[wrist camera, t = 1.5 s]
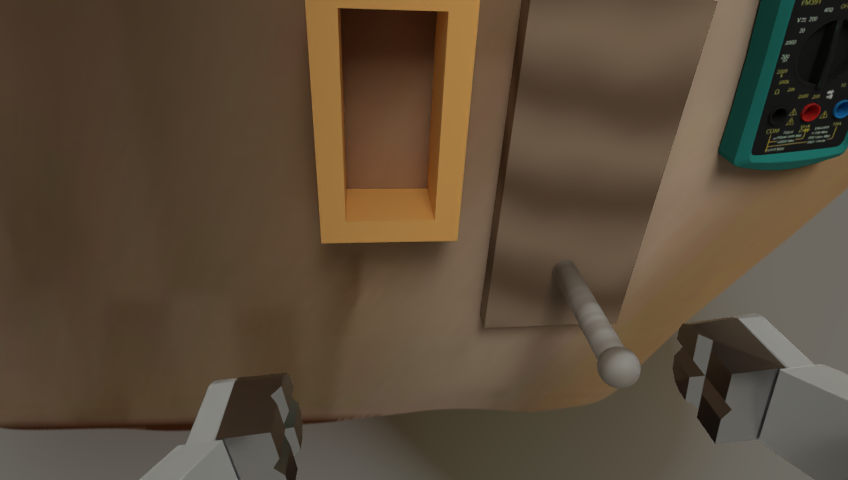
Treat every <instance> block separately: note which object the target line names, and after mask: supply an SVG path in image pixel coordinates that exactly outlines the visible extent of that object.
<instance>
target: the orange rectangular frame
mask: <svg viewBox="0 0 848 480" xmlns="http://www.w3.org/2000/svg"><path fill="white" fill-rule="evenodd" d="M479 6H480V0H305V8H306V23H307V38H308V52H309V67H310V82H311V96H312V111H313V126H314V141H315V155H316V170H317V185H318V199H319V214H320V229H321V243H367V242H422V241H457V239H458V228H459V218H460V207H461V197H462V186H463V176H464V165H465V154H466V144H467V133H468V123H469V112H470V101H471V91H472V80H473V70H474V59H475V49H476V38H477V27H478V17H479ZM340 8H353V9H385V10H416V11H437V17H436V35H435V53H434V71H433V90H432V108H431V126H430V144H429V162H428V181H427V188H407V189H347V180H346V151H345V123H344V95H343V67H342V38H341V10H340Z"/></svg>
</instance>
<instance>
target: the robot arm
mask: <svg viewBox="0 0 848 480" xmlns="http://www.w3.org/2000/svg"><path fill="white" fill-rule="evenodd" d="M677 340H678V341H679V342H680V344H681V345H682V346H683V347H682V348H681V349H680V350H679V351H678V352H677V353H676V354H675V356H674V362H673V373H674V379H675V383H676V385H677V387H678V390H679V392H680V393H681V395H682V396H683V398H684V399H685V401H687V402H689V403H690V404H692V405H694V406H696V407H698V408H699V409H698V415H697V418H698V420H699V421H700V423H701V424H702V426H703V427H704V428H705V430H706V431H707V433H708V434H709V436H710V437H711V439H712V440H713V441H714V443H715V444H718V443H728V442H738V441H747V440H758V439H759V441H758V442H760V443H761V444H763V445H764V446H766V447H767V448H769V449H770V450H772V451H773V452H774V453H776V454H777V455H779V456H780V457H782V458H784V459H785V460H786V461H788V462H789V463H791V464H792V465H794V466H795V467H797V468H798V469H800V470H801V471H803V472H804V473H806V474H807V475H809V476H810V477H812V478H813V479H815V480H848V374H845V373H843V372H840V371H838V370H836V369H833V368H831V367H828V366H826V365H823V364H819V365H814V364H813V363H812V362H811V361H810V360H809V359H808V358H807V357H806V356H805V355H803V354H802V353H801V352H800V351H799V350H798V349H797V348H796V347H795V346H794V345H793V344H792V343H791V342H790V341H789V340H787V339H786V338H785V337H784V336H783V335H782V334H781V333H780V332H779V331H778V330H777V329H776V328H775V327H774V326H772V325H771V324H770V323H769V322H768V321H767V320H766V319H765V318H764V317H763V316H761V315H759V314H756V313H753V314H746V315H740V316H732V317H730V318H721V319H713V320H706V321H698V322H691V323H683V324H682V325H681V327H680V328H679V331H678V337H677ZM292 393H293V384H292V381H291V378H290V375H289V374H287V373H279V374H269V375H259V376H249V377H239V378H234V379H224V380H214V381H213V382H212V383H211V384H210V385H209V387H208V389H207V392H206V394H205V397H204V399H203V402H202V404H201V407H200V409H199V412H198V414H197V417H196V419H195V422H194V424H193V427H192V429H191V432H190V434H189V437H188V439H187V442H186V444H185V445H178V446H177V447H176V448H174V449H173V450H172V451H171V452H170V453H169V454H168V455H167V456H165V457H164V458H163V459H162V460H161V461H160V462H159V463H158V464H156V465H155V466H154V467H153V468H152V469H151V470H149V471H148V472H147V473H146V474H145V475H144V476H143V477H142V478H140V479H139V480H296V475H297V465H296V462H295V459H294V456H295V455H296V454H297V453H298V452H299V451H300V450H301V442H302V418H301V411H300V408H299V404H298V402H296V401H295V400H293V399H292Z"/></svg>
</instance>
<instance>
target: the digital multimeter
mask: <svg viewBox="0 0 848 480" xmlns="http://www.w3.org/2000/svg"><path fill="white" fill-rule="evenodd" d="M794 2H795V4H794ZM793 6H794V7H793ZM792 9H793V11H792ZM791 12H792V14H791ZM790 16H791V17H790ZM789 19H790V21H789ZM788 23H789V24H788ZM787 26H788V28H787ZM786 29H787V31H786ZM785 33H786V34H785ZM784 36H785V38H784ZM783 39H784V41H783ZM782 43H783V44H782ZM781 46H782V48H781ZM780 50H781V51H780ZM779 53H780V55H779ZM778 56H779V58H778ZM777 60H778V61H777ZM776 63H777V65H776ZM775 67H776V68H775ZM774 70H775V72H774ZM773 73H774V75H773ZM772 77H773V78H772ZM797 79H798V80H797ZM771 80H772V82H771ZM770 84H771V85H770ZM805 86H806V87H805ZM769 87H770V89H769ZM768 91H769V92H768ZM767 94H768V95H767ZM766 98H767V99H766ZM760 118H761V119H760ZM759 122H760V123H759ZM758 125H759V126H758ZM847 147H848V0H761V2H760V6H759V10H758V13H757V17H756V21H755V25H754V29H753V33H752V37H751V42H750V46H749V50H748V54H747V57H746V61H745V64H744V68H743V71H742V74H741V78H740V81H739V85H738V88H737V92H736V95H735V99H734V103H733V106H732V110H731V113H730V116H729V119H728V123H727V126H726V129H725V132H724V135H723V138H722V141H721V144H720V148H719V154H720V155H721V156H722V157H724V158H725V159H726V160H728V161H729V162H731V163H732V164H733V165H735V166H736V167H742V168H750V169H757V170H784V169H793V168H798V167H802V166H807V165H811V164H815V163H818V162H821V161H824V160H827V159H831V158H834V157H837V156H840V155H841V154H843V153H844V152H845V150H846V149H847ZM785 152H787V153H785ZM775 153H778V154H775ZM766 154H768V155H766Z"/></svg>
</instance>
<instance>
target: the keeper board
mask: <svg viewBox="0 0 848 480" xmlns="http://www.w3.org/2000/svg"><path fill="white" fill-rule="evenodd" d="M716 5H717V1H713V0H522V4H521V12H520V19H519V27H518V34H517V42H516V49H515V57H514V64H513V72H512V79H511V87H510V94H509V102H508V109H507V117H506V124H505V132H504V139H503V147H502V154H501V162H500V169H499V177H498V184H497V192H496V199H495V207H494V214H493V222H492V229H491V237H490V244H489V252H488V259H487V267H486V274H485V282H484V289H483V297H482V304H481V312H480V316H481V319H482V322H483V326H484V328H497V327H524V326H551V325H577V324H579V325H580V327H581V329H582V331H583V333H584V335H585V337H586V338H587V340H588V342H589V344H590V346H591V348H592V350H593V352H594V354H595V356H596V357H597V359H598V362H597V369H598V373H599V375H600V377H601V378H602V380H603V381H604V382H605V383H607V384H608V385H610V386H612V387H615V388H626V387H629V386H631V385H633V384H634V383H635V382H636V381H637V380H638V378H639V376H640V371H641V367H640V362H639V360H638V358H637V356H636V355H635V354H634V353H633V352H632V351H630V350H629V349H627V348H625V347H624V346H623V344H622V342H621V341H620V339H619V337H618V336H617V334H616V332H615V331H614V329H613V327H612V326H611V324H610V323H616V322H617V319H618V316H619V313H620V309H621V306H622V303H623V300H624V297H625V294H626V290H627V287H628V284H629V281H630V278H631V275H632V271H633V268H634V265H635V262H636V259H637V256H638V252H639V249H640V246H641V243H642V240H643V236H644V233H645V230H646V227H647V224H648V221H649V217H650V214H651V211H652V208H653V205H654V202H655V198H656V195H657V192H658V189H659V186H660V183H661V179H662V176H663V173H664V170H665V167H666V164H667V160H668V157H669V154H670V151H671V148H672V145H673V141H674V138H675V135H676V132H677V129H678V126H679V122H680V119H681V116H682V113H683V110H684V106H685V103H686V100H687V97H688V94H689V91H690V87H691V84H692V81H693V78H694V75H695V72H696V68H697V65H698V62H699V59H700V56H701V53H702V49H703V46H704V43H705V40H706V37H707V34H708V30H709V27H710V24H711V21H712V18H713V15H714V11H715V8H716Z"/></svg>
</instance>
